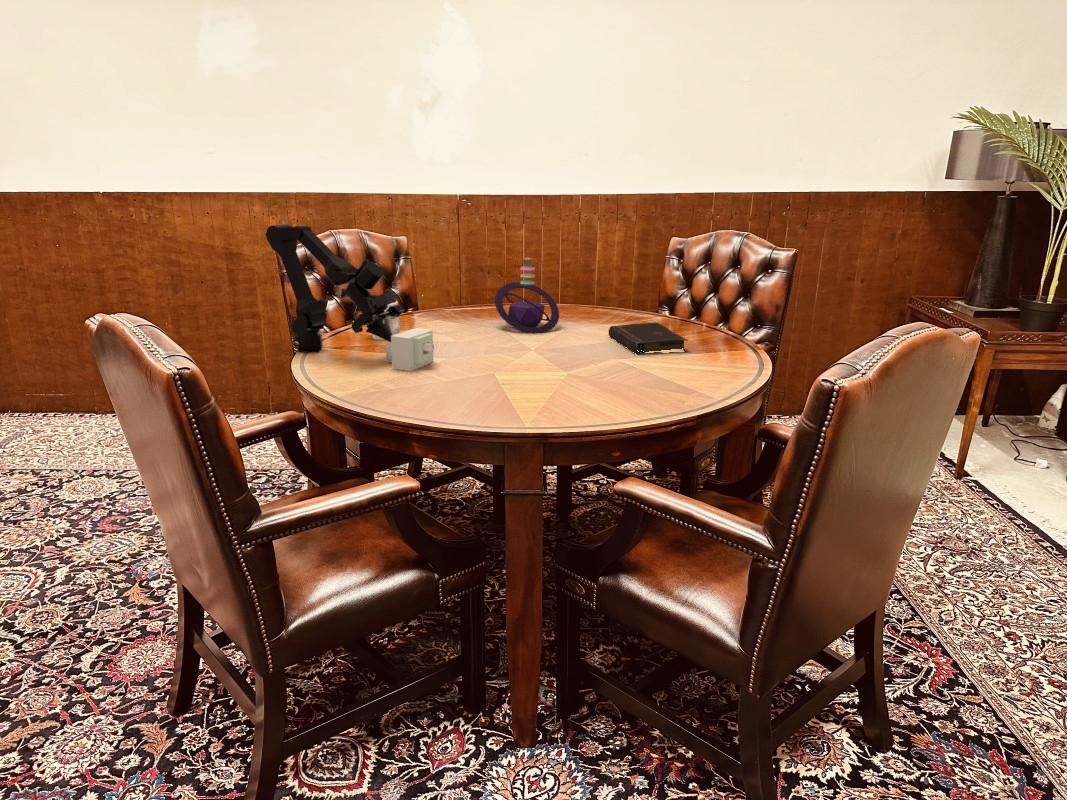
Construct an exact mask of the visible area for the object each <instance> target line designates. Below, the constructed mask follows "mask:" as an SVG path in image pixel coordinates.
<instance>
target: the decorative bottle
mask: <svg viewBox="0 0 1067 800" xmlns="http://www.w3.org/2000/svg"><path fill="white" fill-rule="evenodd" d="M522 261H523V264H522V266H521V267H520V271H521V272H534V271H535V270H536V268H535V267H534V266H533V257H523V258H522ZM519 277H520V278H521V279H522V280H521V281H520V282H519V281H516V282H515V281H514V282H509V283H507V284H506V283H505V285H503V286H501V287H500V288H499V289H498V291H496V294H495V297H494V305H495V308H496V311H497V312H498V314H499V316H500V317H501V318H502V320H504V321H505V322H506V323H507V324H508V325H509V326H511V327H512V328H514V329H516V330H518V331H522V332H523V333H527V334H528V333H529V334H543V333H546V332H549V331H550V330H552V329H554V328H555V327H556V325H557V324H558V322H559V318H560V310H559V308H558V305H557V302H556V301H555V300H554V299H553V296H551V295H550V294H548V292H546V291H545V290H544V289H542V288H540V287H539V286H537V285H535V284H536V282H535V281H534V280H529V279H534V278H535V277H536V275H535V274H533V273H521V274H520V276H519ZM523 279H526V280H523ZM515 289H525V290H530V291H532V292H534V293H536V294H538V295H540V296H541V297H543V299H545V301H546V302H547V304H548V305H549V308H550V311H551V312H550V314H551V315H550V317H549V316H548V314H547V313H546V312H545V306H546V305H544V304H542V303H543V301H542V303H540V302H538V301H528V299H525V298H524V297H522V296H519V295H517V294H514V293H512V292H510V291H512V290H515ZM509 296H513V297H516V298H518V299H519V300H522V301H515V302H513V301H512V300H511V299H510V298H509ZM504 298H505V299H506V300H508V301H509V302H510V303H511V304H509V305H508V306H509V308H508V314H507V312H506V310H505V308H504V304H503V302H504V301H503V299H504ZM543 316H545V317H546V318H544V317H543ZM542 321H544V322H546V323H545V324H543V325H540V323H541V322H542ZM539 325H540V326H539Z"/></svg>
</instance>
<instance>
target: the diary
mask: <svg viewBox="0 0 1067 800" xmlns="http://www.w3.org/2000/svg"><path fill="white" fill-rule="evenodd" d="M607 334H608V336H610V337H611V338H610V337H609V338H610V339H612V338H613V339H615V340H616V341H618V342H619V343H620V344H622V345H623V346H625V347H627V348H628V349H630V350H631V351H633V352H634V353H637V354H638V353H639V352H641V350H642V351H644V352H649V351H661V350H671V349H682V348H684V347H685V341H687V342H688V341H689V339H687V338H685V337H683V336H681V335H680V334H677V333H676V332H674V331H673V330H671V329H669V328H668V327H666V326H665V325H663V324H661V323H659V322H640V323H637V322H636V323H627V324H619V325H610V326H609V328H608V333H607ZM613 339H612V340H613ZM615 340H614V341H615ZM616 341H615V342H616ZM618 342H617V343H618ZM619 343H618V344H619ZM620 344H619V345H620ZM622 345H621V346H622ZM623 346H622V347H623ZM625 347H624V348H625ZM627 348H626V349H627ZM628 349H627V350H628ZM684 349H685V348H684ZM630 350H629V351H630ZM637 350H638V351H639V352H637ZM631 351H630V352H631ZM634 353H633V354H634Z"/></svg>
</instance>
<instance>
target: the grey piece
mask: <svg viewBox="0 0 1067 800" xmlns="http://www.w3.org/2000/svg"><path fill="white" fill-rule="evenodd" d="M384 323H385V328H386V329H387V330H388V332H389V333H390V335H391V336H393V335H396V334H399V333H401V331H400V329H401V327H400V316H399V317H392V316H390V317H386V318H384ZM384 341H385V356H386V362H388V363H392V348H391V342H389V341H387V340H384ZM423 351H428V352H433V353H434V351H435V346H434V343H433V344H431V343H424V344H423Z"/></svg>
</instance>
